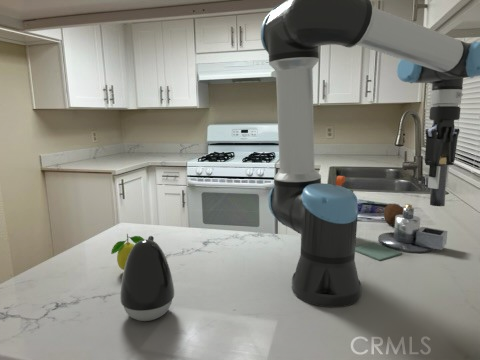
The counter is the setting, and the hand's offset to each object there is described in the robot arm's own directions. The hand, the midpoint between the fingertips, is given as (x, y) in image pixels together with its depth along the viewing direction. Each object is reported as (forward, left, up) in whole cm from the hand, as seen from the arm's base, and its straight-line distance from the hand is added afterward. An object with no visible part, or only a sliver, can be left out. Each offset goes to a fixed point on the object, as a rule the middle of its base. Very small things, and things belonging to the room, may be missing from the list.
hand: (437, 187), depth 105 cm
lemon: (-82, +29, -19) cm, 89 cm away
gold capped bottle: (0, -1, -5) cm, 5 cm away
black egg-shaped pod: (-84, +7, -19) cm, 87 cm away
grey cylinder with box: (-2, +3, -17) cm, 18 cm away
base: (-3, +6, -19) cm, 20 cm away
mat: (-17, +6, -19) cm, 26 cm away
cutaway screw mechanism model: (-17, +22, -19) cm, 34 cm away
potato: (+11, +20, -19) cm, 30 cm away
